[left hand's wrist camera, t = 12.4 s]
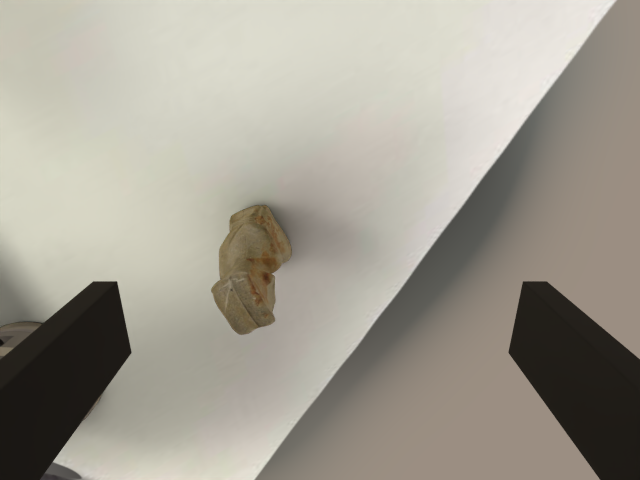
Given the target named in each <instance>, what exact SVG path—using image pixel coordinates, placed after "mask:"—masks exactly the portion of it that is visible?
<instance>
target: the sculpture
mask: <svg viewBox="0 0 640 480" xmlns="http://www.w3.org/2000/svg"><path fill="white" fill-rule="evenodd" d="M291 254H292V250H291V246H290V243H289V241H288V239H287V237H286V235H285V234H284V232H283V230H282V229H281V227H280V226H279V225H278V223H277V222H276V220H275V219H274V217H273V215H272V214H271V211H270V209H269V208H268V207H267V206H266V205H263V206H259V205H256V206H253V207H250V208H247V209H244V210H242V211H239V212H237V213H235V214H234V215H232V216H231V218H230V233H229V234H228V236H227V237H226V239H225V240H224V242H223V243H222V245H221V247H220V250H219V271H220V279H221V280H220V281H218V282H217V283H216V284H215V285H214V286H213V287H212V289H211V292H212V293H213V296H214V299H215V302H216V304H217V306H218V308H219V309H220V311H221V312H222V313H223V315H224V316H225V318H226V319H227V321H228V322H229V324H230V325H231V327H232V329H233V330H234V331H235V332H237V333H238V334H240V335H243V334H248V333H250V332H252V331H253V330H255V329H256V328H259V327H264V326H267V325H271V324H272V323H274V322H275V318H274V315H273V313H272V311H273V308H274V304H275V277H274V275H272V273H273V272H275V271H276V270H278V269H279V268H280V266H281V264H282V263H284V262H287V261H288V260H289V259H290V257H291Z"/></svg>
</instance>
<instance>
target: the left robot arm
mask: <svg viewBox="0 0 640 480" xmlns="http://www.w3.org/2000/svg"><path fill="white" fill-rule="evenodd" d="M130 354H131V348H130V343H129V338H128V333H127V328H126V323H125V318H124V314H123V309H122V304H121V299H120V294H119V289H118V284H117V282H92V283H91V284H90V285H89V286H87V287H86V288H85V289H84V290H83V291H81V292H80V293H79V294H78V295H77V296H75V297H74V298H73V299H72V300H71V301H69V302H68V303H67V304H66V305H65V306H63V307H62V308H61V309H60V310H59V311H57V312H56V313H55V314H54V315H53V316H52V317H50V318H49V319H48V320H47V321H46V322H44V323H43V324H41V323H34V322H18V323H12V324H8V325H4V326H2V327H0V480H40V479H41V477H42V476H43V474H44V473H45V472H46V470H47V469H48V467H49V466H50V465H51V463H52V462H53V461H54V459H55V458H56V456H57V455H58V454H59V452H60V451H61V449H62V448H63V447H64V445H65V444H66V443H67V441H68V440H69V438H70V437H71V436H72V434H73V433H74V431H75V430H76V429H77V427H78V426H79V425H80V423H81V422H82V421H83V420H84V419H85V418H86V417H87V416H88V415H89V414H90V412H91V411H92V410H93V408H94V407H95V405H96V404H97V403H98V401H99V399H100V397H101V395H102V393H103V391H104V390H105V389H106V387H107V386H108V384H109V383H110V382H111V380H112V379H113V378H114V376H115V375H116V373H117V372H118V371H119V369H120V368H121V366H122V365H123V364H124V362H125V361H126V360H127V358H128V357H129V355H130ZM509 354H510V355H511V357H512V358H513V360H514V361H515V362H516V364H517V365H518V366H519V368H520V369H521V371H522V372H523V373H524V375H525V376H526V378H527V379H528V380H529V382H530V383H531V384H532V386H533V387H534V389H535V390H536V391H537V393H538V394H539V396H540V397H541V398H542V400H543V401H544V402H545V404H546V405H547V407H548V408H549V409H550V411H551V412H552V413H553V415H554V416H555V418H556V419H557V420H558V422H559V423H560V425H561V426H562V427H563V429H564V430H565V431H566V433H567V434H568V436H569V437H570V438H571V440H572V441H573V443H574V444H575V445H576V447H577V448H578V449H579V451H580V452H581V454H582V455H583V456H584V458H585V459H586V461H587V462H588V463H589V465H590V466H591V467H592V469H593V470H594V472H595V473H596V474H597V476H598V477H599V479H600V480H640V359H639V358H637V357H636V356H635V355H634V354H633V353H631V352H630V351H629V350H628V349H627V348H626V347H624V346H623V345H622V344H621V343H620V342H618V341H617V340H616V339H615V338H614V337H612V336H611V335H610V334H609V333H608V332H606V331H605V330H604V329H603V328H602V327H600V326H599V325H598V324H597V323H596V322H594V321H593V320H592V319H591V318H590V317H588V316H587V315H586V314H585V313H584V312H582V311H581V310H580V309H579V308H578V307H577V306H575V305H574V304H573V303H572V302H571V301H569V300H568V299H567V298H566V297H565V296H563V295H562V294H561V293H560V292H559V291H557V290H556V289H555V288H554V287H553V286H551V285H550V284H549V283H548V282H523V284H522V289H521V294H520V299H519V304H518V309H517V314H516V319H515V323H514V328H513V333H512V338H511V343H510V348H509Z"/></svg>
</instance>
